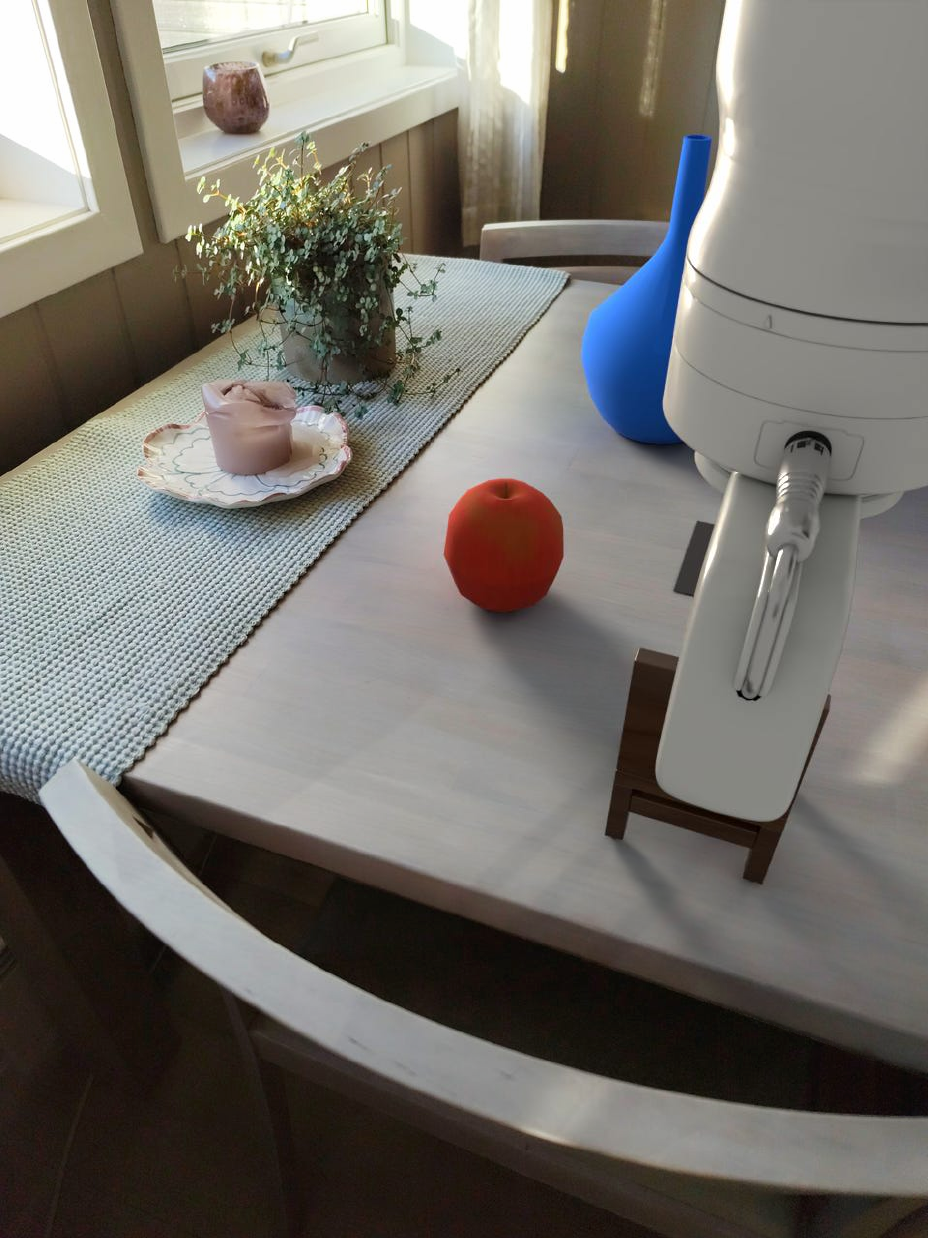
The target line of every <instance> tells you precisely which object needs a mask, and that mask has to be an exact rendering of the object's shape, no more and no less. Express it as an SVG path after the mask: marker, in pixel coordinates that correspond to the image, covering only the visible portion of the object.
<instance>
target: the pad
mask: <svg viewBox="0 0 928 1238" xmlns="http://www.w3.org/2000/svg"><path fill="white" fill-rule="evenodd" d="M714 526H715V523H712V522H711V523H710V522H705V521H700V520H696V522H695V526H694V528H693V531H692V535H691V538H690V540H689V543H688V546H687V549H686V551H685V555H684V557H683V560H682V564H681V567H680V570H679V573H678V576H677V579H676V581H675V584H674V587H673V590H672V591H673V592H675V593H680V594H684V595H686V596H687V595H688V596H692V597H694V594H695V590H696V586H697V582H698V579H699V575H700V571H701V568H702V565H703V562H704V558H705V555H706V552H707V549H708V545H709V542H710V539H711V536H712V533H713V529H714Z"/></svg>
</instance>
